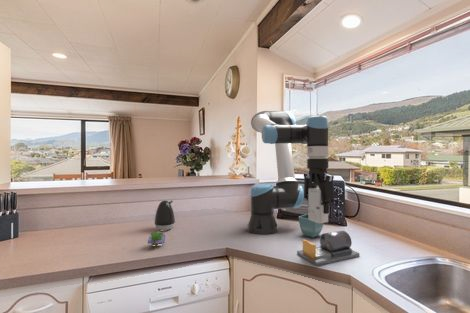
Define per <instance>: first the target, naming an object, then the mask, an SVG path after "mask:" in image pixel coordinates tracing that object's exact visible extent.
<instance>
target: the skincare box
mask: <svg viewBox="0 0 470 313" xmlns="http://www.w3.org/2000/svg"><path fill="white" fill-rule="evenodd" d="M325 201H326V200H325ZM321 203H322V199H321V190H319V187H316V188H309V196H308V200H307V209H308V210H307V211H308V213H307V214H308V219H309V220H311V221H313V222H316V223H321Z"/></svg>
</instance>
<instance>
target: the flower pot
mask: <svg viewBox="0 0 470 313" xmlns="http://www.w3.org/2000/svg"><path fill="white" fill-rule="evenodd" d="M298 222H299V229H300V230H301V233H302V235H304V236H306V237H309V238H310V237H311V238H315V237H317V236H319V235H320V234H321V232H322V230H323V227H324V223H316V222H313V221H311V220H309V219H308V213H305V214H302V215H300V216H298Z"/></svg>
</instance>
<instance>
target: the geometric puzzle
mask: <svg viewBox="0 0 470 313" xmlns="http://www.w3.org/2000/svg"><path fill="white" fill-rule="evenodd" d="M165 241H166V235H165V234H164V231H160V230H158V229H157V230H156V231H154V233H153V232H152V233H150V235H149V237H148V240H147V245H150V244H152V245H155V246H154V247H158V248H160V247H161V246H157V245H158V244H162V245H163V244H165V243H166V242H165ZM152 245H151V246H152Z"/></svg>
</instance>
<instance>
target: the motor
mask: <svg viewBox="0 0 470 313" xmlns="http://www.w3.org/2000/svg"><path fill="white" fill-rule="evenodd" d="M319 244H320V245H319V246H317V245H316V244H315V243H313V242H311V241H309V240H307V239H302V249H301V250H297V251H296V254H297V255H298V256H300V257H301V258H303V259H305V260H306V261H308V262H309V263H311V264H312V265H314V266H316V267H318V266H323V265H328V264H332V263H337V262H340V261H345V260H350V259H355V258H358V257H360V252H358V251H355V250H353V249H352V248H351V247H352V238H351V236H350V234H349V233H348V232H347V231H345V230H337V231H331V232H327V233H322V234H321V235H320V237H319ZM316 246H317V247H316Z"/></svg>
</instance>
